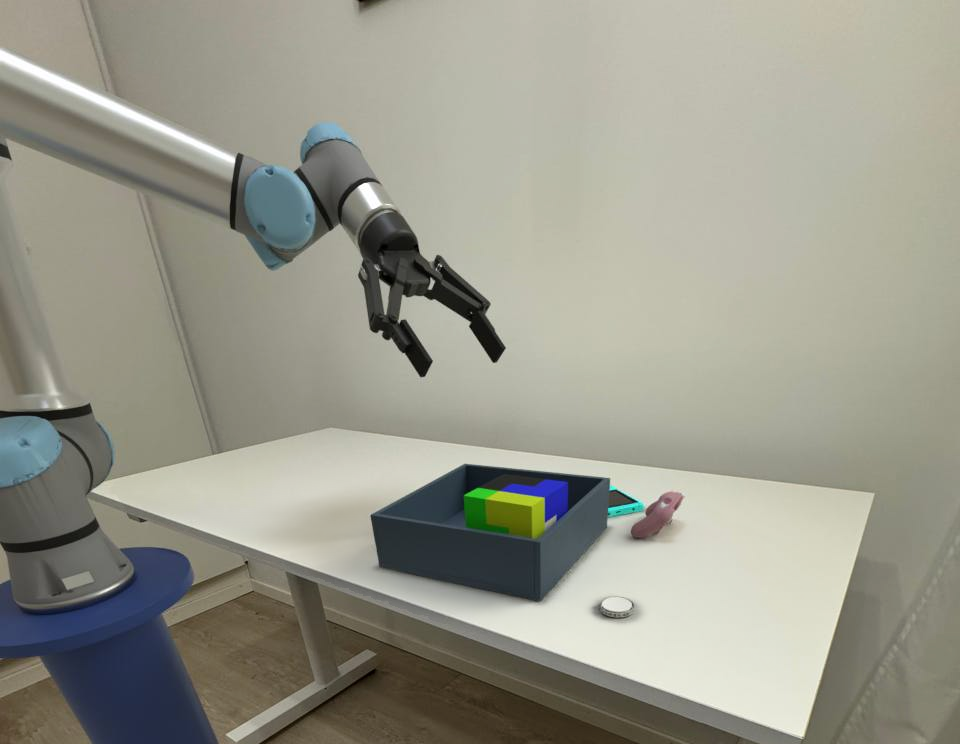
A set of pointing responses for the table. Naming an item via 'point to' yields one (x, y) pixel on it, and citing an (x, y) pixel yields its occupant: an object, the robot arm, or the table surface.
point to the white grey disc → (616, 607)
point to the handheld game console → (622, 503)
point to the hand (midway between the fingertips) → (465, 362)
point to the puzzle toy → (516, 505)
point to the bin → (487, 534)
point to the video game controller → (658, 515)
